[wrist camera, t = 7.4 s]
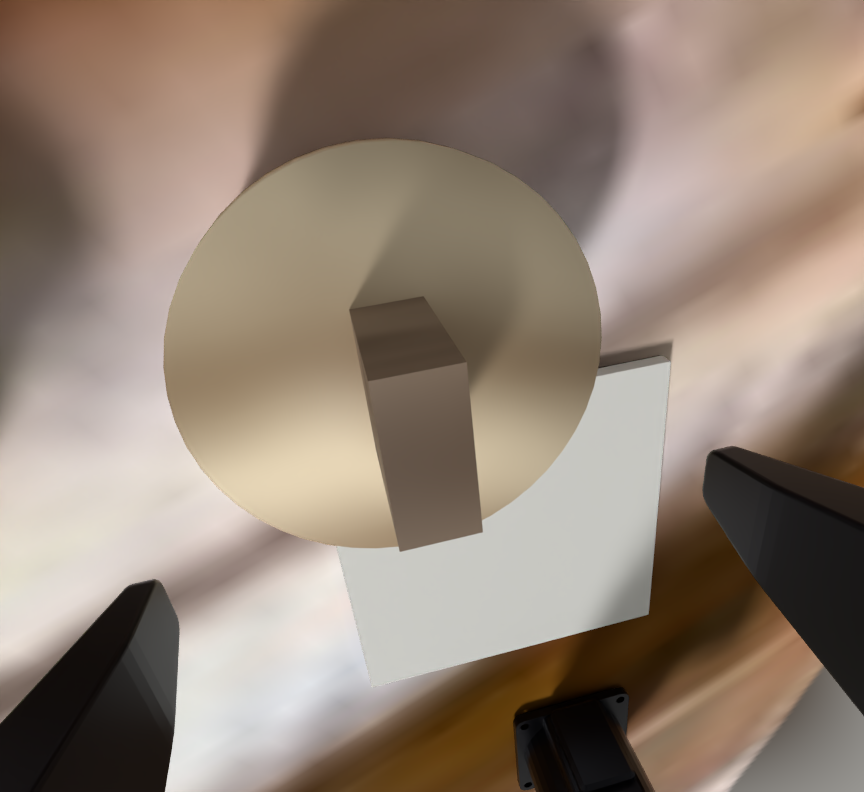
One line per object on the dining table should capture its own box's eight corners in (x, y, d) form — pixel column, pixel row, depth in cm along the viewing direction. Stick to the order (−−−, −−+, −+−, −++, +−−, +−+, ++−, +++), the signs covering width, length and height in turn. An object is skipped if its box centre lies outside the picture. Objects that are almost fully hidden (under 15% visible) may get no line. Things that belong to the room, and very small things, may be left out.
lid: (580, 479, 19) (670, 597, 15) (240, 557, 18) (222, 714, 13) (583, 107, 14) (722, 112, 9) (102, 175, 13) (-6, 221, 8)
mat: (642, 605, 30) (648, 614, 29) (370, 676, 28) (372, 687, 27) (662, 355, 23) (670, 361, 23) (308, 427, 21) (308, 435, 21)
